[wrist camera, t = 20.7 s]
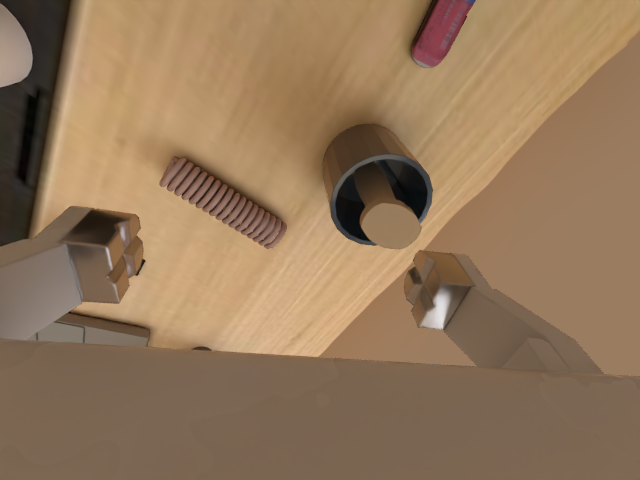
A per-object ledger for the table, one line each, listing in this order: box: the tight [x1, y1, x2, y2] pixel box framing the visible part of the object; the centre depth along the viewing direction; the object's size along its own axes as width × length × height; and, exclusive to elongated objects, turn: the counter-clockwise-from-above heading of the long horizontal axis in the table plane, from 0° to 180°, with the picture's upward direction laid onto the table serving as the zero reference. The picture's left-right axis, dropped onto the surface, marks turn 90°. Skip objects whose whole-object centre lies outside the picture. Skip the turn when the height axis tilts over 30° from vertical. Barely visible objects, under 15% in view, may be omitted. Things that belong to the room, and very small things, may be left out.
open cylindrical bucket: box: [323, 124, 433, 246], centre depth 41 cm, size 12×12×11 cm
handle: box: [354, 161, 422, 249], centre depth 39 cm, size 5×6×15 cm
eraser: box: [411, 0, 475, 68], centre depth 35 cm, size 11×4×2 cm, turn 159°
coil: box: [160, 157, 287, 249], centre depth 45 cm, size 5×5×18 cm
